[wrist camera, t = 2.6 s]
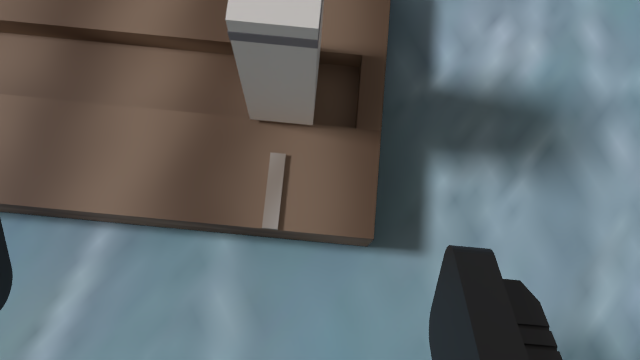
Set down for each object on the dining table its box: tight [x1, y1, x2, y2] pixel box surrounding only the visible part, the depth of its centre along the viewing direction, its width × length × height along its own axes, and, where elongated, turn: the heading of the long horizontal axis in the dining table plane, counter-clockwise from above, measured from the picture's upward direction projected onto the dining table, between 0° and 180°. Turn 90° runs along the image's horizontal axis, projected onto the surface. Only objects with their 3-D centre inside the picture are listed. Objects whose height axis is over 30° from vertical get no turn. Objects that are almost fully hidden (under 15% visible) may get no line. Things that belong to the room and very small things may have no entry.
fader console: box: [0, 0, 390, 246], centre depth 26 cm, size 25×12×2 cm, turn 85°
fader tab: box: [225, 0, 324, 125], centre depth 21 cm, size 2×4×9 cm
